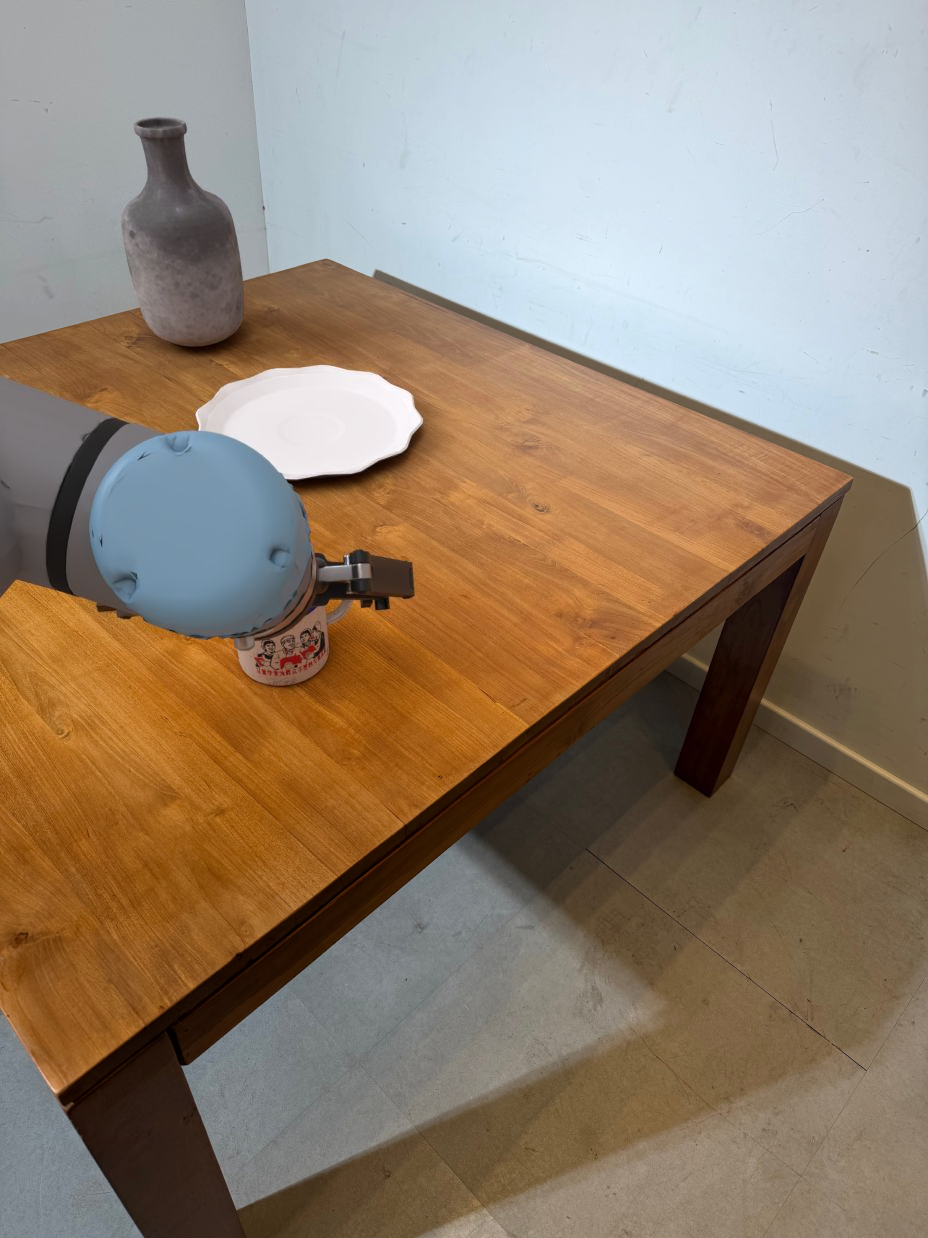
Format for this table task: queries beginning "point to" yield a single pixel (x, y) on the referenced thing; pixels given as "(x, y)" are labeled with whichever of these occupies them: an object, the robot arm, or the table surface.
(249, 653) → the teacup with lid
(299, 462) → the plate
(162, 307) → the vase
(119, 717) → the table surface
